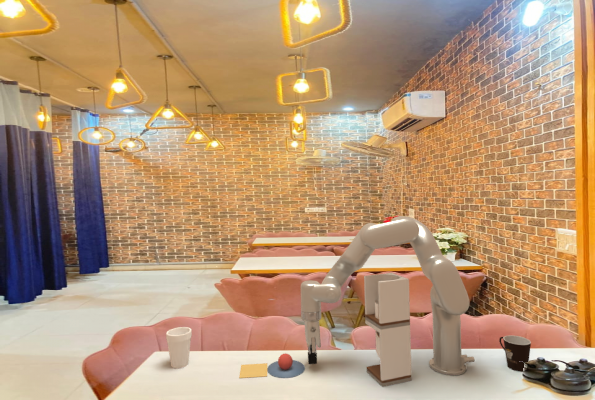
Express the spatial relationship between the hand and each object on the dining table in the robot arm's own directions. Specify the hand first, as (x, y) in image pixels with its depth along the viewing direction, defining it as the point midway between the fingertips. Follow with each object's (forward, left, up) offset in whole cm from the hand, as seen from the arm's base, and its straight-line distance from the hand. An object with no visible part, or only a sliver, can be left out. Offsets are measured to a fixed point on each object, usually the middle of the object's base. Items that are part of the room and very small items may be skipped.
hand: (312, 362), depth 136 cm
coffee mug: (-74, +9, -2) cm, 75 cm away
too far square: (+22, 0, -2) cm, 22 cm away
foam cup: (+51, -9, -2) cm, 52 cm away
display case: (-26, +11, -2) cm, 28 cm away
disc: (+10, 0, -2) cm, 10 cm away
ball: (+10, 0, +1) cm, 10 cm away
